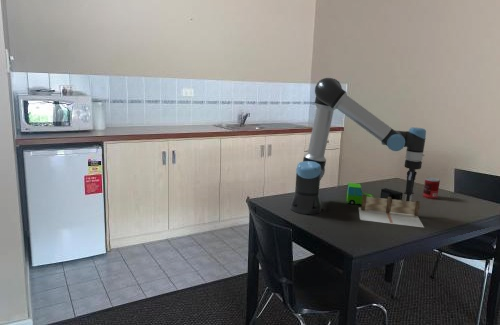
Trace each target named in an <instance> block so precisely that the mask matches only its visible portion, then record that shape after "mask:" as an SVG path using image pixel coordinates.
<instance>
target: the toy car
mask: <svg viewBox="0 0 500 325" xmlns="http://www.w3.org/2000/svg"><path fill="white" fill-rule="evenodd" d="M346 191H347V192H346V203H348V204H349V205H362V196H363V194H366V197H374V196H373V194H369V193H365V192H363V189H362V186H361V183H354V182H348V183H347V190H346ZM365 204H366V203H365Z"/></svg>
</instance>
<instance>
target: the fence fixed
mask: <svg viewBox="0 0 500 325" xmlns="http://www.w3.org/2000/svg"><path fill="white" fill-rule="evenodd" d="M366 194H367V193H366ZM366 194H363V196H362V204H360V205H361V206H360V208H361V210H363V211H364V210H365V209H367V210H376V211H384V212H386V213H390V211H391V200H392V197H388V199H384V198H380V197H374V196H373V197H366ZM365 203H366V204H365Z"/></svg>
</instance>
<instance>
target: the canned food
mask: <svg viewBox="0 0 500 325" xmlns="http://www.w3.org/2000/svg"><path fill="white" fill-rule="evenodd" d="M440 181H441V180H440V179H439V178H437V177H430V176H428V177H425V180H424V185H423V191H422V192H423V193H422V196H423V198H426V199H430V200H436V199H438V195H439V190H440V183H441V182H440Z"/></svg>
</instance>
